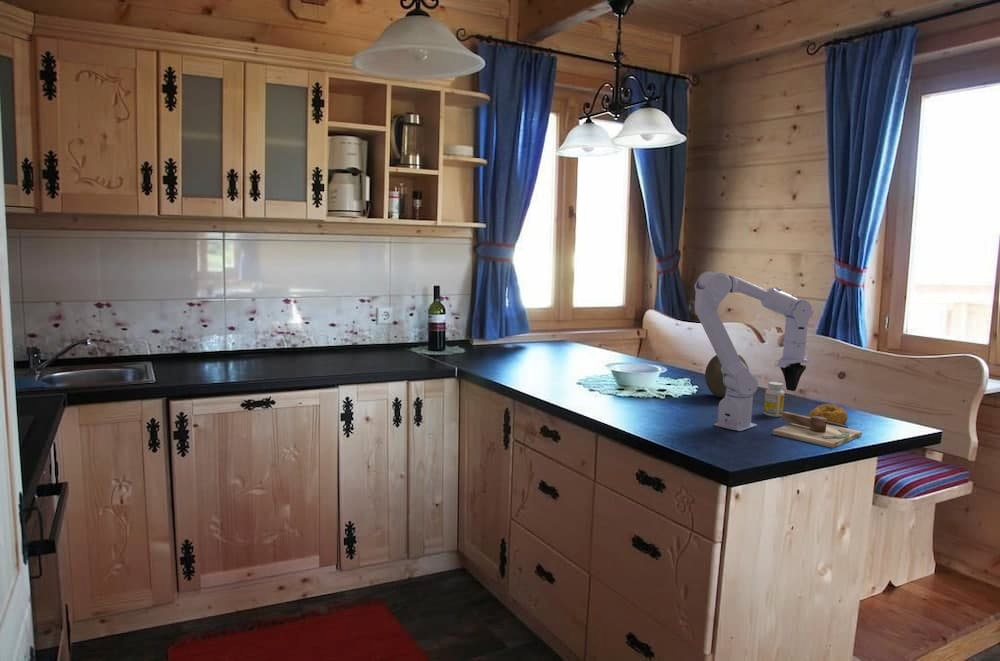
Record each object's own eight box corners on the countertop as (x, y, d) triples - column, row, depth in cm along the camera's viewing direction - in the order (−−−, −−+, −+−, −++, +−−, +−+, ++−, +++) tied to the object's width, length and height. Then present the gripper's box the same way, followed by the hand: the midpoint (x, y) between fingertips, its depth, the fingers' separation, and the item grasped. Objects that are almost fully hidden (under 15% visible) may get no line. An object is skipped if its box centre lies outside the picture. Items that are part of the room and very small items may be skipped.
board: (833, 447, 181) (833, 442, 180) (772, 434, 192) (773, 428, 192) (861, 435, 193) (862, 430, 192) (803, 423, 204) (803, 418, 204)
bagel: (800, 417, 212) (801, 401, 212) (837, 418, 212) (838, 402, 212) (815, 426, 202) (816, 410, 202) (854, 427, 202) (855, 411, 202)
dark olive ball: (695, 397, 235) (698, 352, 233) (715, 391, 245) (718, 348, 243) (736, 405, 225) (739, 358, 223) (755, 398, 236) (758, 353, 234)
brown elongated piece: (850, 435, 187) (851, 423, 187) (842, 437, 185) (843, 425, 184) (787, 420, 201) (788, 409, 201) (779, 422, 199) (780, 411, 198)
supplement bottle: (768, 417, 211) (771, 385, 210) (760, 412, 216) (762, 381, 215) (786, 417, 212) (788, 385, 210) (777, 412, 217) (779, 381, 216)
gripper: (797, 346, 190) (793, 396, 192) (820, 341, 200) (816, 389, 202) (771, 342, 196) (768, 391, 197) (796, 338, 205) (792, 385, 207)
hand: (791, 390), depth 200 cm, fingers closed
